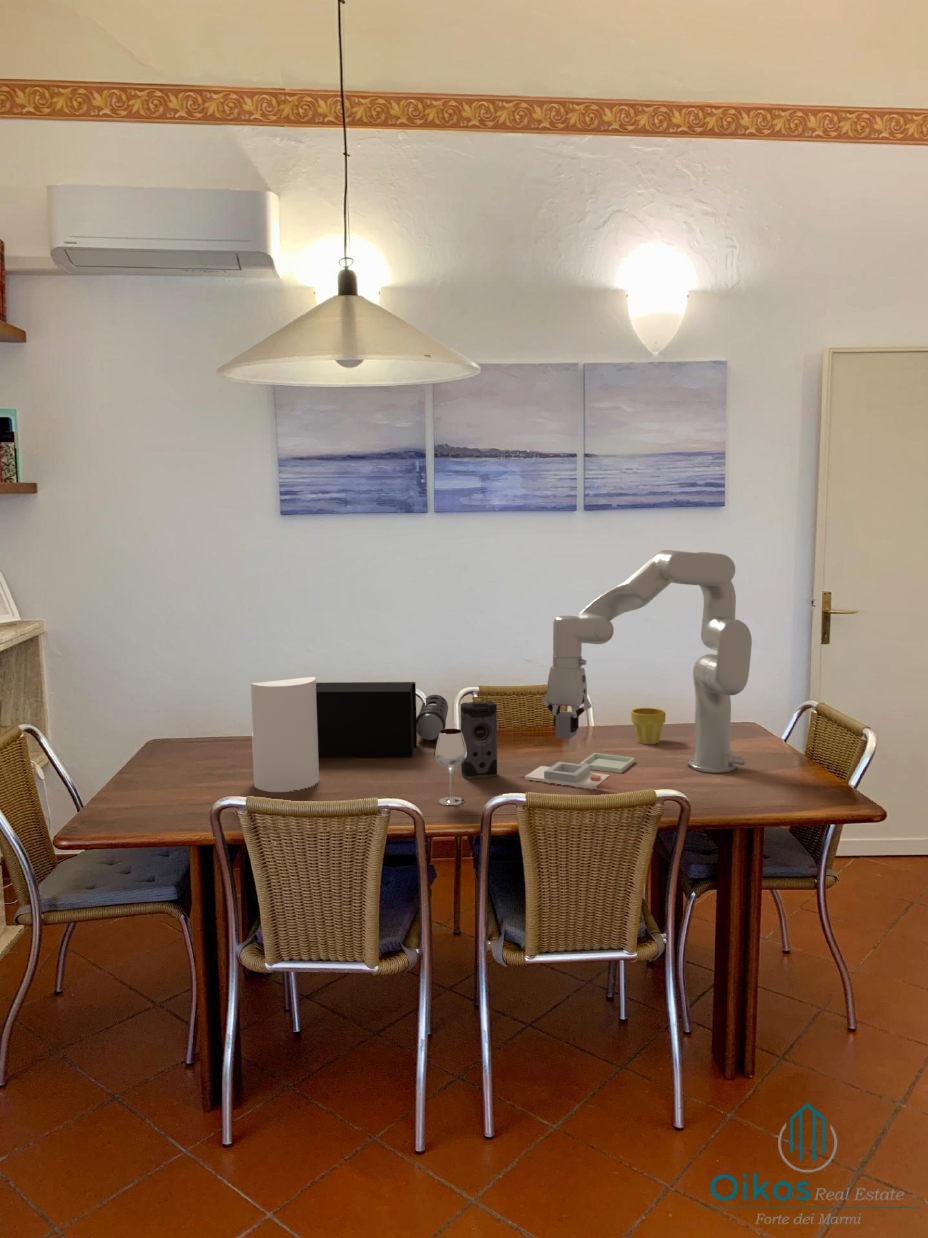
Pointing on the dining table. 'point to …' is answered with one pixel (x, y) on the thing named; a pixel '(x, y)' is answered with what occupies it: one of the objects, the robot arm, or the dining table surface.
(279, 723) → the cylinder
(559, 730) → the plug
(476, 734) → the electronic device
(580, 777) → the plate with square socket
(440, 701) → the muzzle brake
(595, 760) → the tray
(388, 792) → the dining table surface
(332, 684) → the uninterruptible power supply
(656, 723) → the plant pot
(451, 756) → the wineglass
